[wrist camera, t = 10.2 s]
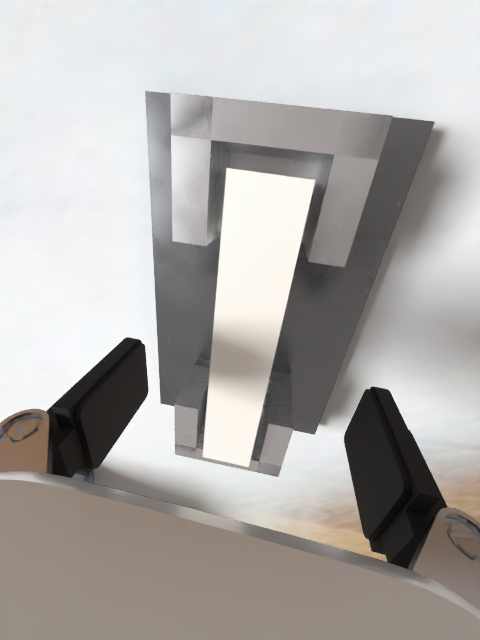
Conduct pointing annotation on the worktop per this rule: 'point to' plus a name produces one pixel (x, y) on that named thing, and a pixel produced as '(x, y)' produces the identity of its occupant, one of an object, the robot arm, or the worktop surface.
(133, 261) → the worktop surface
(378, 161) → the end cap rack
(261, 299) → the slat
